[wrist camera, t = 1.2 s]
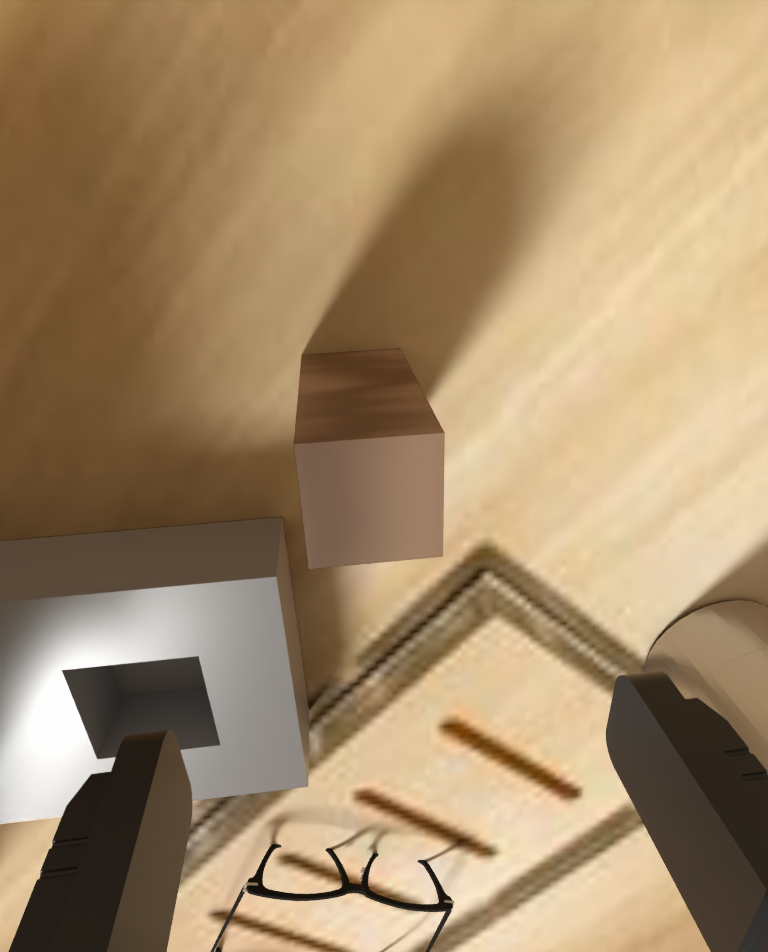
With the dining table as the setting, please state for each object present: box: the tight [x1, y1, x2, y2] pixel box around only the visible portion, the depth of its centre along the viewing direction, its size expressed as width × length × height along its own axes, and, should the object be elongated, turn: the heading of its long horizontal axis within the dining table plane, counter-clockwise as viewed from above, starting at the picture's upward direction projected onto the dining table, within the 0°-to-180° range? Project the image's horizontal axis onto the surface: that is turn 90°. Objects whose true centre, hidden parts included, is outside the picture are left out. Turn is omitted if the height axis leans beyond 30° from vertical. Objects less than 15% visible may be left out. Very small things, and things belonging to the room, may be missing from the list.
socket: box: [0, 517, 309, 824], centre depth 29 cm, size 18×14×5 cm
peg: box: [294, 349, 444, 569], centre depth 22 cm, size 4×4×10 cm
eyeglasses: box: [211, 844, 454, 952], centre depth 44 cm, size 16×16×4 cm
